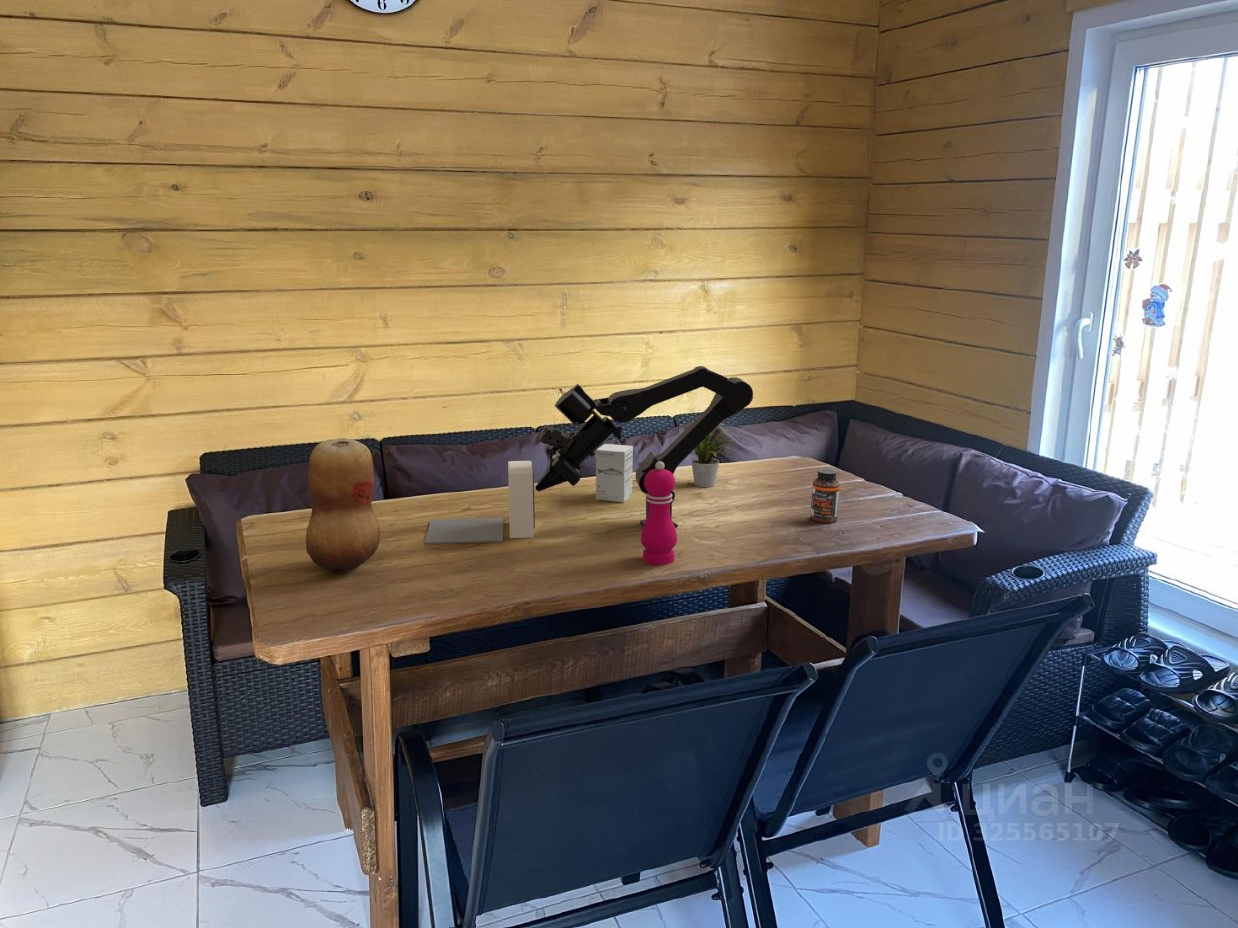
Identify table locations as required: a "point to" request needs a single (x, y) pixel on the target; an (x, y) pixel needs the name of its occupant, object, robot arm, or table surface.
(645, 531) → the pepper mill
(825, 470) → the supplement bottle
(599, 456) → the supplement box
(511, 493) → the picture frame
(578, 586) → the table surface
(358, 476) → the butternut squash
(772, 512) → the table surface
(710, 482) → the house plant
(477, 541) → the mat
